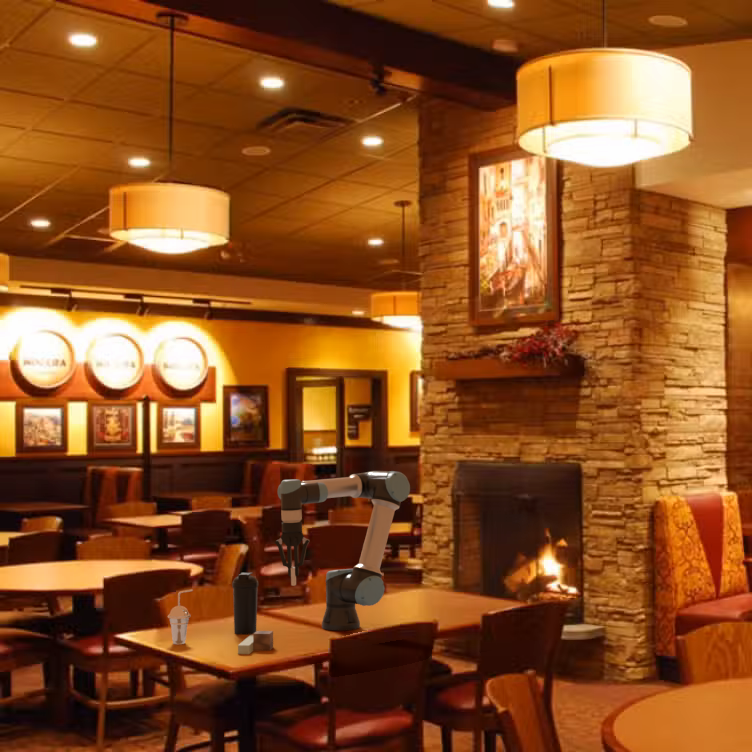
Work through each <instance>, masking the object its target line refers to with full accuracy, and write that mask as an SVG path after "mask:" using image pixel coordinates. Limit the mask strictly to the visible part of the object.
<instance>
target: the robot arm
mask: <svg viewBox="0 0 752 752" xmlns="http://www.w3.org/2000/svg"><path fill="white" fill-rule="evenodd" d="M408 479H409V478H408V477H407V476H406V475H405V474H404V473H402V472H401V471H394V470H391V471H390V470H389V471H388V470H371V471H367V472H361V473H360V472H359V473H353V474H350V475H349V476H346V477H336V478H324V479H323V478H322V479H314V480H302V481H301V480H300V479H299V478H298V479H295V478H294V479H283V480H282V481H281V482H280V484H279V485H278V488H277V496H278V498H279V499H280V503H281V504H280V505H281V507H280V509H281V511H280V512H281V521H282V522H281V535H280V538H279V539H277V540H275V542H274V543H275V545H276V546H277V549H278V552H279V555H280V560H281V563H282V566H283V567H287V575H288V577H290V586H294V587H295V586H297V577H298V576H299V575H300V572H299V569H300V567H301V566H303V565H304V564H305V563H304V562H305V558H306V552H307V548H308V545H309V543H310V539H309V538H306V537H305V536H304V534H303V522H302V520H303V518H302V517H303V514H302V509H303V508H302V505H306V504H319V503H323V502H325V501H326V500H327V499H331V498H334V499H335V498H342V497H343V498H344V497H351V498H354V499H358V498H362V499H369V500H370V499H371V503H372V505H373V508H372V511H371V515H370V519H369V523H368V526H367V530H366V535H365V539H364V542H363V545H362V548H361V549H362V550H361V554H360V557H359V561H358V563H357V564H356V565H354V566H353V568H346V569H345V568H343V569H333V570H329V571H327V572H326V575H325V577H326V578H325V596H326V597H325V600H326V601H325V603H326V604H325V605H326V607H325V611H324V615H323V618H322V621H321V628H322V629H323V630H326V631H327V630H328V631H339V632H340V631H353V630H352V629H354V630H357V628H358V629H360V628H361V627H360V626H361V622H360V617H359V615H358V611H357V608H356V605H360V606H363V607H366V606H367V607H368V606H371V607H372V606H374V605H376V604H378V603H379V602H380V600H381V599H382V598H383V596H384V594H385V584H384V583H385V582H384V581H383V579H382V576H383V573H382V572H381V565H382V561H383V557H384V554H385V550H386V546H387V542H388V538H389V535H390V530H391V526H392V522H393V519H394V516H395V511H396V510H399V509H400V507H401V502H403V501H406V499H407V498H408V497H409V495H410V492H411V485H410V482H409V480H408ZM283 543H284V545H285V546H286V550H287V551H286V552H287V553H286V554H287V559H286V555H285V551H284V548H283ZM301 543H302V544H303V545H302V549H301V554H300V559H299V545H300V544H301ZM292 547H293V552H294V553H293V554H294V555H293V554H292ZM292 555H293V557H294V558H292ZM293 559H294V566H293Z"/></svg>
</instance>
